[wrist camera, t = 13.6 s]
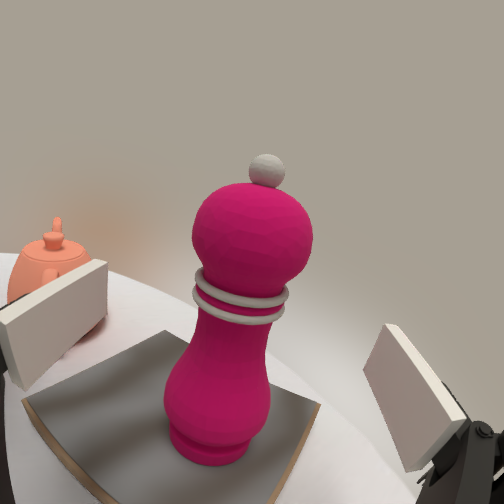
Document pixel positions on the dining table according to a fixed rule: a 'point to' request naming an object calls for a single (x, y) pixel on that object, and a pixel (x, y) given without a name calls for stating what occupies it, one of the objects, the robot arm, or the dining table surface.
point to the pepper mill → (235, 313)
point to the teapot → (45, 262)
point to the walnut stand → (158, 434)
